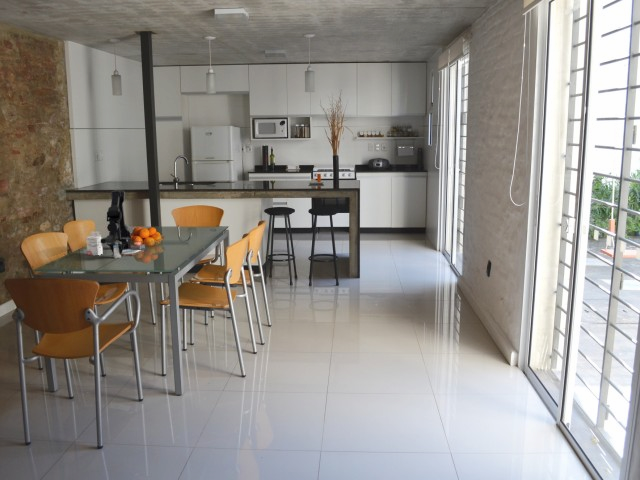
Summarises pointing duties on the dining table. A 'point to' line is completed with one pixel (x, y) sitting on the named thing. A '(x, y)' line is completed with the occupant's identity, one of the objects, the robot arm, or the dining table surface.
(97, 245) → the ink cartridge box
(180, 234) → the dining table surface
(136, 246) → the button housing
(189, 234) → the dining table surface
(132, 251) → the picture board
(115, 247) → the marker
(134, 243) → the button
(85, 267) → the dining table surface
